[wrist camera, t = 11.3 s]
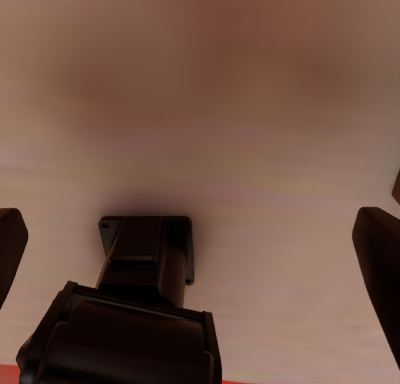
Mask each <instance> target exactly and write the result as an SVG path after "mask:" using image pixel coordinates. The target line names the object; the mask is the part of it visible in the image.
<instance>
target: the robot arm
mask: <svg viewBox="0 0 400 384" xmlns="http://www.w3.org/2000/svg"><path fill="white" fill-rule="evenodd" d="M104 223H108V224H109V225H106V224H104ZM182 223H187V224H186V225H183V224H182ZM99 230H100V234H101V238H102V243H103V247H104V251H105V255H106V259H105V262H104V265H103V268H102V270H101V273H100V276H99V279H98V281H97V284H96V287H95V288H91V287H87V286H82V285H78V283H76V282H72V281H68V282H67V284H66V285H65V287H64V289H63V290H62V291H59V293H58V294H57V296H56V298H55V299H54V300H53V302H52V304H51V306H50V307H49V309H48V311H47V312H46V314H45V316H44V317H43V319H42V320H41V322H40V324H39V325H38V327H37V329H36V330H35V332H34V333H33V334H32V335H31V336H30V337H29V338H28V340H27V341H26V342H25V343H24V344H23V345H22V346H21V348H20V349H19V351H18V354H17V357H16V362H17V364H18V366H19V368H20V370H21V372H20V377H19V384H222V365H221V358H220V352H219V347H218V342H217V337H216V331H215V326H214V321H213V316H212V313H211V312H206V311H203V312H199V311H194V310H190V309H185V308H183V303H184V291H185V285H191V284H193V283H194V261H193V239H192V221H191V219H190V218H189V217H186V216H105V217H102V218H101V219H100V221H99ZM352 240H353V244H354V247H355V251H356V254H357V258H358V261H359V265H360V269H361V272H362V276H363V279H364V283H365V286H366V289H367V292H368V295H369V297H370V300H371V302H372V305H373V307H374V310H375V312H376V314H377V317H378V319H379V322H380V324H381V327H382V329H383V331H384V334H385V336H386V339H387V341H388V343H389V346H390V348H391V351H392V353H393V355H394V358H395V360H396V363H397V365H398V368H399V370H400V220H399V219H398V218H396V217H394V216H392V215H391V214H389V213H387V212H385V211H384V210H382V209H380V208H378V207H362V208H360V209H359V211H358V214H357V217H356V221H355V224H354V228H353V232H352ZM27 241H28V230H27V228H26V225H25V223H24V220H23V217H22V215H21V212H20V211H19V210H18V209H16V208H1V209H0V309H1V307H2V305H3V303H4V301H5V299H6V297H7V295H8V292H9V290H10V288H11V285H12V283H13V280H14V278H15V275H16V272H17V269H18V266H19V264H20V261H21V258H22V255H23V253H24V250H25V247H26V244H27Z"/></svg>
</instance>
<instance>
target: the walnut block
mask: <svg viewBox="0 0 400 384" xmlns="http://www.w3.org/2000/svg"><path fill="white" fill-rule="evenodd" d="M392 196H393V197H394V198H395V200H396V201H397V202H398V203H399V205H400V173H399V176H398V178H397V181H396V184H395V187H394V190H393V193H392Z"/></svg>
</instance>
